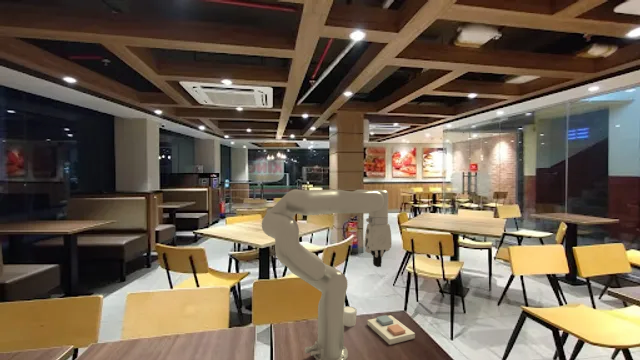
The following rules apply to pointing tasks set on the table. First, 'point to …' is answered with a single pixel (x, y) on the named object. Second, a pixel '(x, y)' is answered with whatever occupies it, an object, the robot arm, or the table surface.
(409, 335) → the board
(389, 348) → the table surface
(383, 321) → the key slate
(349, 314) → the shot glass
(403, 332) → the key terracotta
